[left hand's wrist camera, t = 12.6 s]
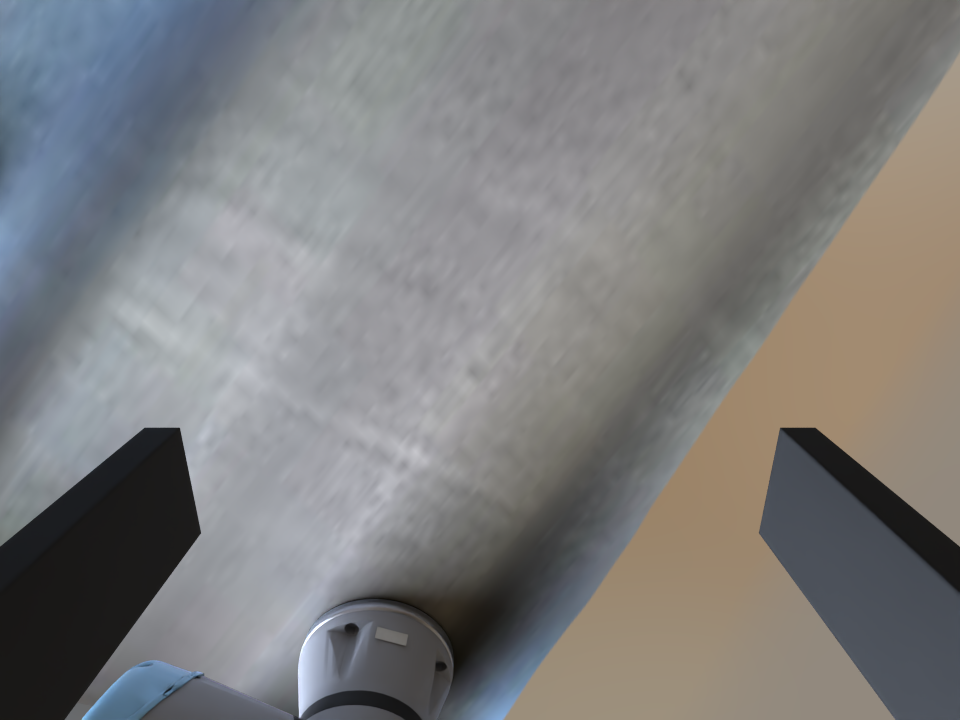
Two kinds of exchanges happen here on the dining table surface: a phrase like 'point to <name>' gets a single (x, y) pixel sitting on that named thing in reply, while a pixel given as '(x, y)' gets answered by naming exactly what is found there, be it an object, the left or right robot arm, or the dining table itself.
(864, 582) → the left robot arm
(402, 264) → the dining table surface
